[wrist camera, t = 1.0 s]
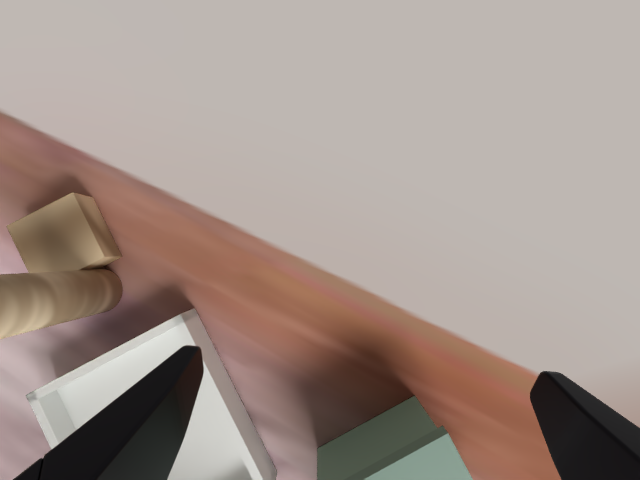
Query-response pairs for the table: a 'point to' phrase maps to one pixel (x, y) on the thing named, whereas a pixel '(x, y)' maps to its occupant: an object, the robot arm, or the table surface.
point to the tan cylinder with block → (59, 267)
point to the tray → (207, 416)
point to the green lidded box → (393, 449)
